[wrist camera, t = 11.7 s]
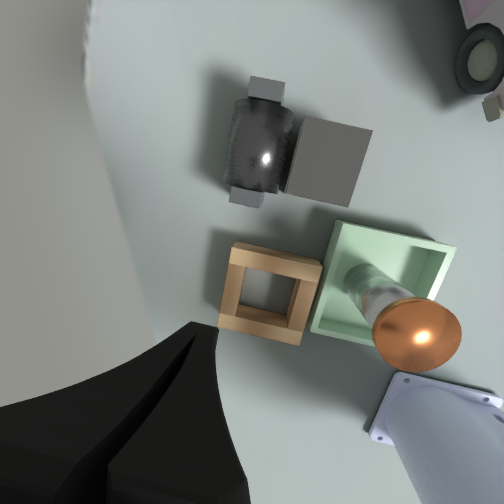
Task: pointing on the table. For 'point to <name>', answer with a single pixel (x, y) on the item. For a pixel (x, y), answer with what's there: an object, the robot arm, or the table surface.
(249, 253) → the socket block
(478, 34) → the toy vehicle
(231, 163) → the trolley wheel
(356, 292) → the pin
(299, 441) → the table surface
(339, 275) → the tray
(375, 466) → the table surface
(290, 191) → the block
